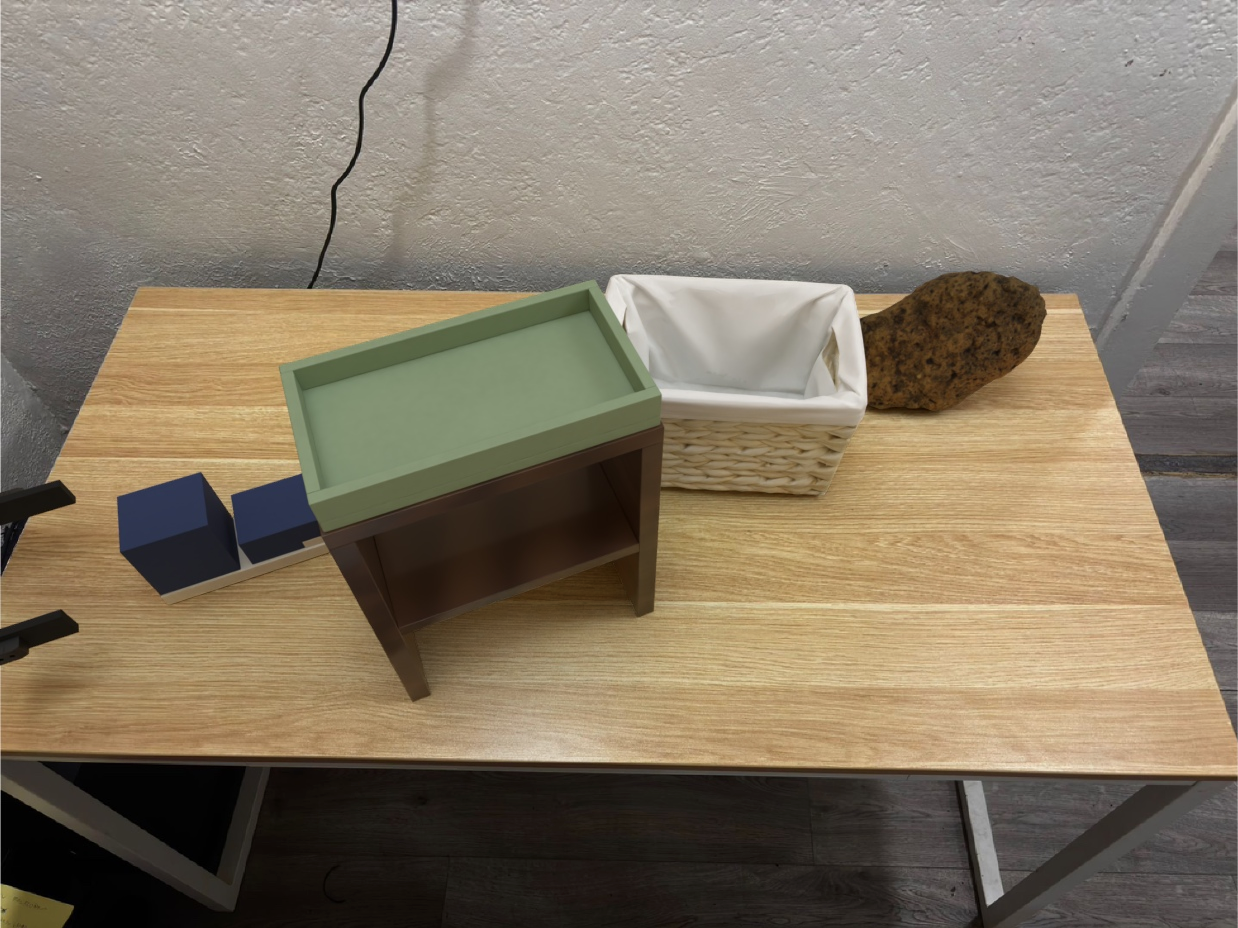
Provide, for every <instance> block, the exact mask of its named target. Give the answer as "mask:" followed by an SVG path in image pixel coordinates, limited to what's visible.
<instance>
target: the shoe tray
mask: <svg viewBox="0 0 1238 928" xmlns="http://www.w3.org/2000/svg"><path fill="white" fill-rule="evenodd" d="M278 371H279V375H280V380H281V385H282V389H283V394H284V398H285V402H286V408H287V412H288V417H289V421H290V425H291V430H292V435H293V441H294V444H295V448H296V453H297V457H298V462H299V466H300V472H301V473H302V476H303V481H304V485H305V490H306V494H307V499H308V503H309V506H310V508H311V510H312V511H313V513H314V515H315V517H316V519H317V521H318V523H319V524H320V526H321V528H322V530H323V532H328V531H331V530H334V529H338V528H341V527H344V526H347V525H350V524H353V523H356V522H359V521H362V520H366V519H369V518H372V517H375V516H378V515H381V514H384V513H387V512H390V511H394V510H397V509H400V508H403V507H406V506H409V505H412V504H415V503H418V502H422V501H425V500H428V499H431V498H434V497H437V496H440V495H443V494H446V493H450V492H453V491H456V490H459V489H462V488H465V487H468V486H471V485H475V484H478V483H481V482H484V481H487V480H490V479H493V478H496V477H499V476H503V475H506V474H509V473H512V472H515V471H518V470H521V469H524V468H527V467H531V466H534V465H537V464H540V463H543V462H546V461H549V460H552V459H555V458H559V457H562V456H565V455H568V454H571V453H574V452H577V451H580V450H583V449H587V448H590V447H593V446H596V445H599V444H602V443H605V442H608V441H611V440H615V439H618V438H621V437H624V436H627V435H630V434H633V433H636V432H639V431H643V430H646V429H649V428H652V427H655V426H658V425H660V419H661V401H662V394H661V392H660V390H659V389H658V387H657V385H656V384H655V382H654V380H653V378H652V377H651V375H650V373H649V372H648V370H647V368H646V366H645V365H644V363H643V361H642V360H641V358H640V356H639V354H638V353H637V351H636V349H635V348H634V346H633V344H632V342H631V341H630V339H629V337H628V336H627V334H626V332H625V330H624V329H623V327H622V325H621V324H620V322H619V320H618V318H617V317H616V315H615V313H614V312H613V310H612V308H611V306H610V305H609V303H608V301H607V300H606V298H605V294H604V293H603V291H602V290H601V287H600V286H599V284H598V283H597V281H596V279H594V278H593V279H590V280H586V281H582V282H578V283H575V284H571V285H568V286H564V287H561V288H556V289H553V290H549V291H545V292H542V293H538V294H534V295H531V296H527V297H524V298H520V299H516V300H513V301H509V302H506V303H505V302H504V303H501V304H497V305H495V306H491V307H490V306H489V307H486V308H484V309H480V310H476V311H473V312H472V311H471V312H469V313H465V314H461V315H457V316H454V317H451V318H447V319H444V320H440V321H436V322H433V323H429V324H425V325H421V326H418V327H414V328H411V329H407V330H404V331H403V330H402V331H399V332H395V333H392V334H388V335H385V336H382V337H381V336H380V337H378V338H374V339H371V340H370V339H369V340H368V341H367V340H366V341H364V342H359V343H355V344H352V345H349V346H345V347H341V348H337V349H334V350H330V351H326V352H322V353H320V354H319V353H318V354H316V355H312V356H307V357H304V358H302V359H301V358H300V359H297V360H293V361H290V362H286V363H283V364H279V365H278Z"/></svg>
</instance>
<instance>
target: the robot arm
mask: <svg viewBox="0 0 1238 928" xmlns="http://www.w3.org/2000/svg"><path fill="white" fill-rule="evenodd" d="M76 504H77V497H76V495H75V494H74V493H73V491H71V490H70V489H69V488H68V487H67V485H65V484H64V482H63V481H62V480H61V479H56V480H52V481H49V482H46V483H42V484H40V485H36V486H32V487H29V488H26V489H24V488H23V487H13V488H11V489H8V490H7V489H6V490H5V491H1V492H0V527H1V526H4V525H8V524H11V523H15V522H18V521H21V520H25V519H28V518H31V517H35V516H38V515H41V514H46V513H49V512H51V511H55V510H59V509H62V508H65V507H69V506H72V505H76ZM79 633H80V624H79V623H78V622H77V621H76V620H75V619H73V617H71V616H70V615H68V614H67V613H66V612H65V611H64V610H63V609H61V608H60V609H56V610H54V611H51V612H48V613H45V614H41V615H37V616H36V617H35V616H34V617H33V618H29V619H26V620H23V621H20V622H17V623H13V624H10V625H8V626H4V627H1V628H0V667H1V666H3V665H4V666H5V665H6V664H8V663H9V664H10V663H13V662H16V661H18V660H22V659H24V658H26V657H27V656H29V655H30V649H32V648H36V647H39V646H41V645H45V644H47V643H51V642H54V641H56V640H60V639H63V638H65V637H69V636H73V635H75V634H79Z"/></svg>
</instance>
